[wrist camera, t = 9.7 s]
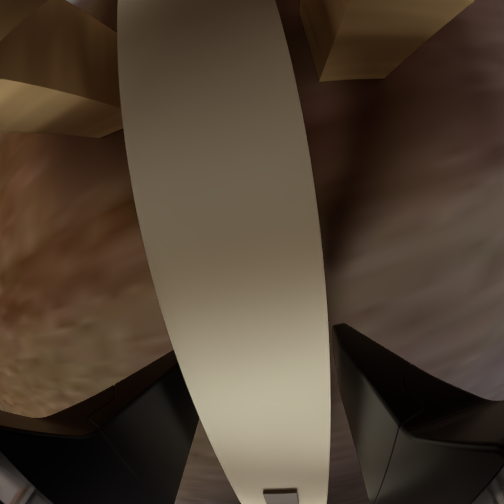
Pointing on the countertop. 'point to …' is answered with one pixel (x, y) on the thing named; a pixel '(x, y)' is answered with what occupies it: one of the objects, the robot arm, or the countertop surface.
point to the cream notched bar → (232, 233)
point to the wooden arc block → (106, 56)
